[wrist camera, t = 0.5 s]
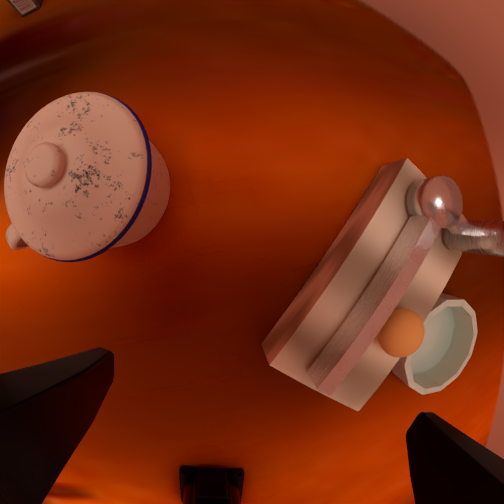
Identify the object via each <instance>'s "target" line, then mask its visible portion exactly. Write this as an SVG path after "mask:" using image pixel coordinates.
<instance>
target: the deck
mask: <svg viewBox="0 0 504 504" xmlns="http://www.w3.org/2000/svg"><path fill="white" fill-rule="evenodd" d="M421 179H427V178H426V177H425V176H424V175H423V174H422V173H421V172H420V171H419V169H418V168H417V167H416V166H415V165H414V164H413V163H412V162H411V161H410V160H409V159H408V158H406V159H402V160H399V161H396V162H393V163H390V164H387V165H384V166H381V168H380V169H379V171H378V173H377V174H376V176H375V178H374V179H373V181H372V183H371V184H370V186H369V187H368V189H367V191H366V192H365V194H364V195H363V197H362V199H361V200H360V202H359V203H358V205H357V207H356V208H355V210H354V211H353V213H352V214H351V216H350V217H349V219H348V221H347V222H346V224H345V225H344V227H343V228H342V230H341V231H340V233H339V234H338V236H337V237H336V239H335V240H334V242H333V243H332V245H331V246H330V248H329V249H328V251H327V252H326V254H325V255H324V257H323V258H322V260H321V261H320V263H319V264H318V266H317V267H316V268H315V270H314V271H313V273H312V274H311V276H310V277H309V279H308V280H307V281H306V283H305V284H304V286H303V287H302V289H301V290H300V291H299V293H298V294H297V296H296V297H295V298H294V300H293V301H292V303H291V304H290V305H289V307H288V308H287V309H286V311H285V312H284V314H283V315H282V316H281V318H280V319H279V320H278V322H277V323H276V325H275V326H274V327H273V329H272V330H271V331H270V333H269V334H268V335H267V337H266V338H265V339H264V341H263V342H262V343H261V345H262V348H263V350H264V353H265V355H266V358H267V360H268V363H269V365H270V366H272V367H274V368H275V369H277V370H279V371H281V372H282V373H284V374H286V375H288V376H290V377H292V378H293V379H295V380H297V381H299V382H301V383H303V384H305V385H306V386H308V387H310V388H312V389H314V390H316V391H318V392H320V393H322V394H324V395H326V396H328V397H330V398H332V399H334V400H336V401H338V402H340V403H342V404H344V405H346V406H348V407H350V408H352V409H354V410H356V411H359V410H360V409H361V408H362V406H363V405H364V404H365V403H366V402H367V400H368V399H369V398H370V397H371V396H372V394H373V393H374V392H375V391H376V389H377V388H378V387H379V385H380V384H381V383H382V382H383V380H384V379H385V378H386V376H387V375H388V374H389V372H390V371H391V370H392V368H393V367H394V366H395V364H396V363H397V362H398V360H399V359H400V358H398V357H393V356H390V355H388V354H387V353H386V352H385V351H384V350H383V349H382V348H381V346H380V344H379V341H378V334H377V336H376V337H375V339H374V340H373V341H372V343H371V344H370V345H369V347H368V348H367V350H366V351H365V352H364V354H363V355H362V356H361V358H360V359H359V360H358V362H357V363H356V364H355V366H354V367H353V368H352V370H351V371H350V372H349V373H348V375H347V376H346V377H345V378H344V380H343V381H342V382H341V383H340V385H339V386H338V387H337V388H336V390H335V391H334V392H333V393H332V394H331V396H330V395H328V394H326V393H324V392H322V391H320V390H318V389H317V388H316V387H315V385H314V383H313V382H312V380H311V379H310V377H309V376H308V374H307V372H306V371H307V370H308V369H309V368H310V366H311V365H312V364H313V363H314V361H315V360H316V359H317V357H318V356H319V355H320V353H321V352H322V351H323V350H324V348H325V347H326V346H327V344H328V343H329V342H330V340H331V339H332V338H333V336H334V335H335V333H336V332H337V331H338V329H339V328H340V327H341V325H342V324H343V322H344V321H345V320H346V318H347V317H348V315H349V314H350V312H351V311H352V310H353V308H354V307H355V305H356V304H357V302H358V301H359V299H360V298H361V296H362V295H363V293H364V292H365V290H366V289H367V287H368V286H369V284H370V283H371V281H372V280H373V278H374V277H375V275H376V273H377V272H378V270H379V269H380V267H381V265H382V264H383V262H384V261H385V259H386V257H387V256H388V254H389V252H390V251H391V249H392V247H393V246H394V244H395V242H396V241H397V239H398V237H399V236H400V234H401V232H402V230H403V229H404V227H405V225H406V223H407V222H408V220H409V218H410V214H409V212H408V208H407V195H408V191H409V189H410V187H411V185H412V184H413V183H414V182H416V181H418V180H421ZM444 229H445V228H441V229H440V231H439V233H438V235H437V237H436V239H435V241H434V243H433V244H432V246H431V248H430V250H429V252H428V254H427V256H426V257H425V259H424V261H423V263H422V264H421V266H420V268H419V270H418V271H417V273H416V275H415V277H414V278H413V280H412V282H411V283H410V285H409V287H408V288H407V290H406V292H405V293H404V295H403V296H402V298H401V300H400V301H399V303H398V304H397V306H396V307H395V309H394V310H396V309H409V310H412V311H414V312H415V313H416V314H418V315H419V317H420V318H421V320H422V322H423V323H424V321H425V320H426V318H427V316H428V315H429V313H430V311H431V310H432V308H433V306H434V305H435V303H436V301H437V300H438V298H439V296H440V294H441V293H442V291H443V289H444V287H445V285H446V284H447V282H448V280H449V278H450V276H451V274H452V272H453V270H454V268H455V266H456V264H457V263H458V261H459V258H460V256H461V254H462V251H455V250H450V249H449V248H448V247H447V246H446V244H445V242H444Z"/></svg>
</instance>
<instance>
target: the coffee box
mask: <svg viewBox="0 0 504 504" xmlns="http://www.w3.org/2000/svg"><path fill="white" fill-rule="evenodd" d="M7 1H8V2H9V3H10V4H11V5H12V6H13V8H14V9H15V10H16V11H17V12H18V13H19V14H20V15H21V16H22V17H23V16H25V15H27V14H29V13H31V12H33V11H35V10H37V9H39V8H40V5H41V2H42V0H7Z"/></svg>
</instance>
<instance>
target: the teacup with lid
mask: <svg viewBox="0 0 504 504" xmlns="http://www.w3.org/2000/svg"><path fill="white" fill-rule="evenodd" d="M4 193H5V202H6V207H7V211H8V214H9V217H10V220H11V222H12V223H11V224H10V226H9V227H8V229H7V231H6V240H7V242H8V245H9V246H10V248H12V249H15V250H18V249H23V248H27V247H30V248H32V249H33V250H34V251H36V252H38V253H39V254H41V255H43V256H45V257H47V258H50V259H53V260H56V261H62V262H77V261H83V260H87V259H90V258H93V257H95V256H97V255H99V254H101V253H103V252H105V251H106V250H108V249H111V248H116V247H120V246H124V245H128V244H131V243H134V242H136V241H138V240H140V239H141V238H143V237H144V236H146V235H147V234H148V233H149V232H151V231H152V229H153V228H154V227H155V226H156V225H157V224H158V222H159V221H160V219H161V218H162V216H163V214H164V212H165V210H166V207H167V204H168V200H169V195H170V177H169V172H168V168H167V165H166V163H165V161H164V159H163V157H162V156H161V154H160V153H159V151H158V150H157V149H156V148H155V146H154V145H153V144H152V142H151V141H150V140H149V139H148V136H147V133H146V131H145V128H144V126H143V124H142V123H141V121H140V119H139V118H138V116H137V115H136V114H135V113H134V111H133V110H132V109H131V108H130V107H128V106H127V105H126V104H125V103H123V102H122V101H120V100H118V99H117V98H114V97H112V96H109V95H106V94H102V93H96V92H79V93H74V94H70V95H66V96H64V97H61V98H59V99H57V100H55V101H53V102H51V103H49V104H48V105H46V106H45V107H43V108H42V109H41V110H40V111H38V112H37V113H36V114H35V115H34V116H33V117H32V118H31V119H30V120H29V122H28V123H27V124H26V125H25V127H24V128H23V129H22V131H21V132H20V134H19V136H18V137H17V139H16V141H15V143H14V145H13V148H12V150H11V152H10V155H9V159H8V162H7V166H6V172H5V181H4Z"/></svg>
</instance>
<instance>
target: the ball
mask: <svg viewBox="0 0 504 504" xmlns="http://www.w3.org/2000/svg"><path fill="white" fill-rule="evenodd" d="M424 334H425V329H424V324H423V322H422V320H421V318H420V317H419V315H418V314H416V313H415V312H414V311H412V310H409V309H396V310H394V311H393V312H392V314H391V315H390V317H389V318H388V320H387V321H386V323H385V324H384V326H383V327H382V328H381V330H380V331H379V333H378V341H379V344H380V346H381V348H382V349H383V350H384V351H385V352H386V353H387V354H388V355H390V356H393V357H398V358H401V357H406V356H409V355H411V354H413V353H414V352H415V351H416V350H417V349H418V348H419V347H420V346H421V344H422V342H423V339H424Z"/></svg>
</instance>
